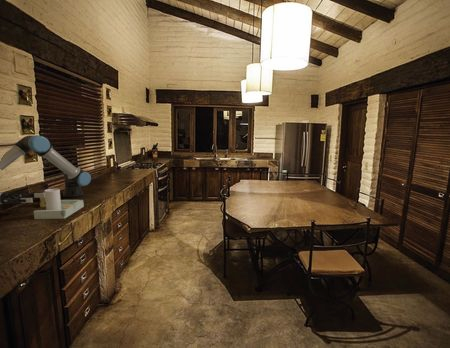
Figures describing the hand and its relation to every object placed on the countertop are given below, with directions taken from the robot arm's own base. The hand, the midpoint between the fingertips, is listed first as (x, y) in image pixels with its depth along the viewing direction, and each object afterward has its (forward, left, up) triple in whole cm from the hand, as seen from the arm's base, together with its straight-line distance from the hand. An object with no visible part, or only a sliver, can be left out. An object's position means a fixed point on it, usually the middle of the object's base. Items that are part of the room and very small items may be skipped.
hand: (38, 197), depth 168 cm
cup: (-4, +8, -11) cm, 14 cm away
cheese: (-18, -19, -12) cm, 29 cm away
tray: (-10, +5, -12) cm, 17 cm away
